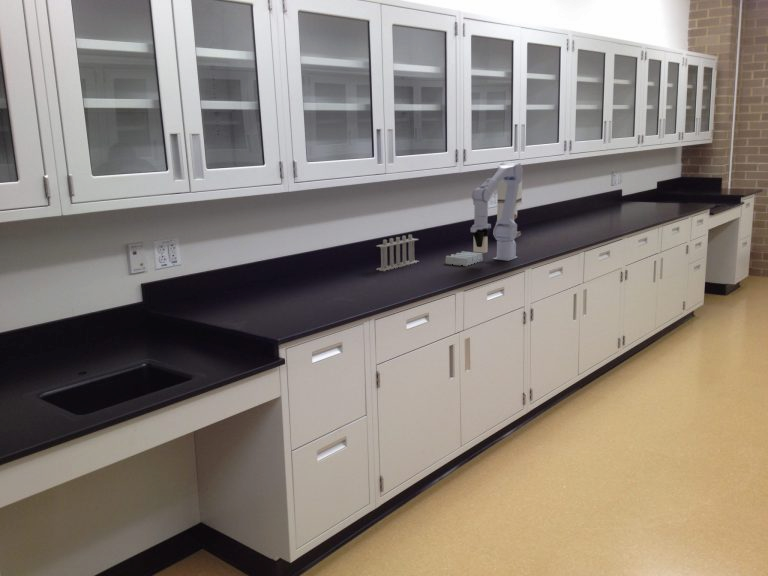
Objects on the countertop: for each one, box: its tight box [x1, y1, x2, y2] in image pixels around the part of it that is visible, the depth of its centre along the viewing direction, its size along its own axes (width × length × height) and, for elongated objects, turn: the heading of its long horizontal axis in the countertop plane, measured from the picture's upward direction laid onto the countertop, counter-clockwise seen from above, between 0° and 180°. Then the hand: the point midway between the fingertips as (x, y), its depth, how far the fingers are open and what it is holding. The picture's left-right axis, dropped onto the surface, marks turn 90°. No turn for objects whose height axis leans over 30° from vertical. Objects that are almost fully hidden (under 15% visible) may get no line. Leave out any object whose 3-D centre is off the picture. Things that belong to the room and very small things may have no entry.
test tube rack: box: [375, 234, 420, 272], centre depth 301 cm, size 25×4×13 cm, turn 139°
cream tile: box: [472, 235, 489, 254], centre depth 297 cm, size 2×6×7 cm, turn 52°
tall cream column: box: [496, 179, 523, 239], centre depth 376 cm, size 11×11×35 cm
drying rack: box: [445, 250, 484, 267], centre depth 307 cm, size 14×11×4 cm
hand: (480, 246), depth 297 cm, fingers closed on cream tile, 2 cm apart
